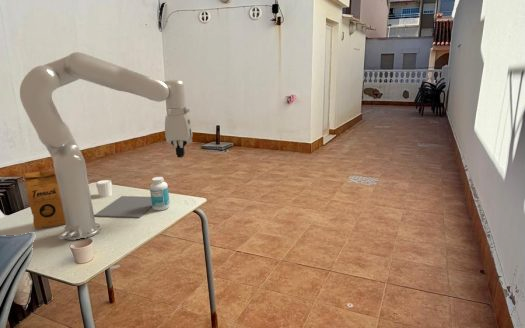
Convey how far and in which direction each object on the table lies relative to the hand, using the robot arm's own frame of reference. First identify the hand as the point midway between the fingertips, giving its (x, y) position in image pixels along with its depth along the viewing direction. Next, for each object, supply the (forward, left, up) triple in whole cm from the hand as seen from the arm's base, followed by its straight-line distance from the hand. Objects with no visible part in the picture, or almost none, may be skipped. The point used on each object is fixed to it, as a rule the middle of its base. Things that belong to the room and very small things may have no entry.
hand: (180, 156), depth 141 cm
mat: (0, +26, -23) cm, 34 cm away
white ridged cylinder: (+13, +45, -23) cm, 52 cm away
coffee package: (-19, +48, -23) cm, 57 cm away
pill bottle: (0, +11, -23) cm, 26 cm away
